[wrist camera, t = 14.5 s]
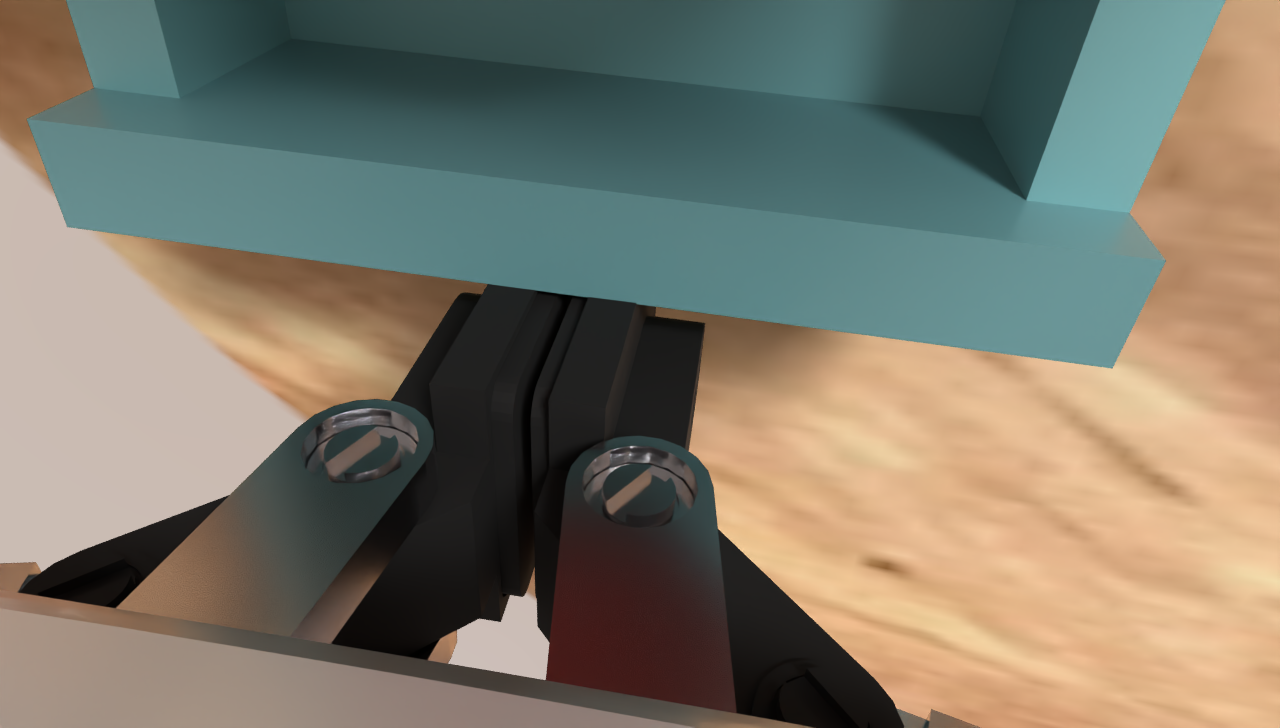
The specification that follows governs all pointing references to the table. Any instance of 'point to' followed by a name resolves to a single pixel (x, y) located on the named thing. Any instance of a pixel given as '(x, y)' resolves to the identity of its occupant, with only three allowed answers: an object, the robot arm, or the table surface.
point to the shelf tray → (657, 150)
